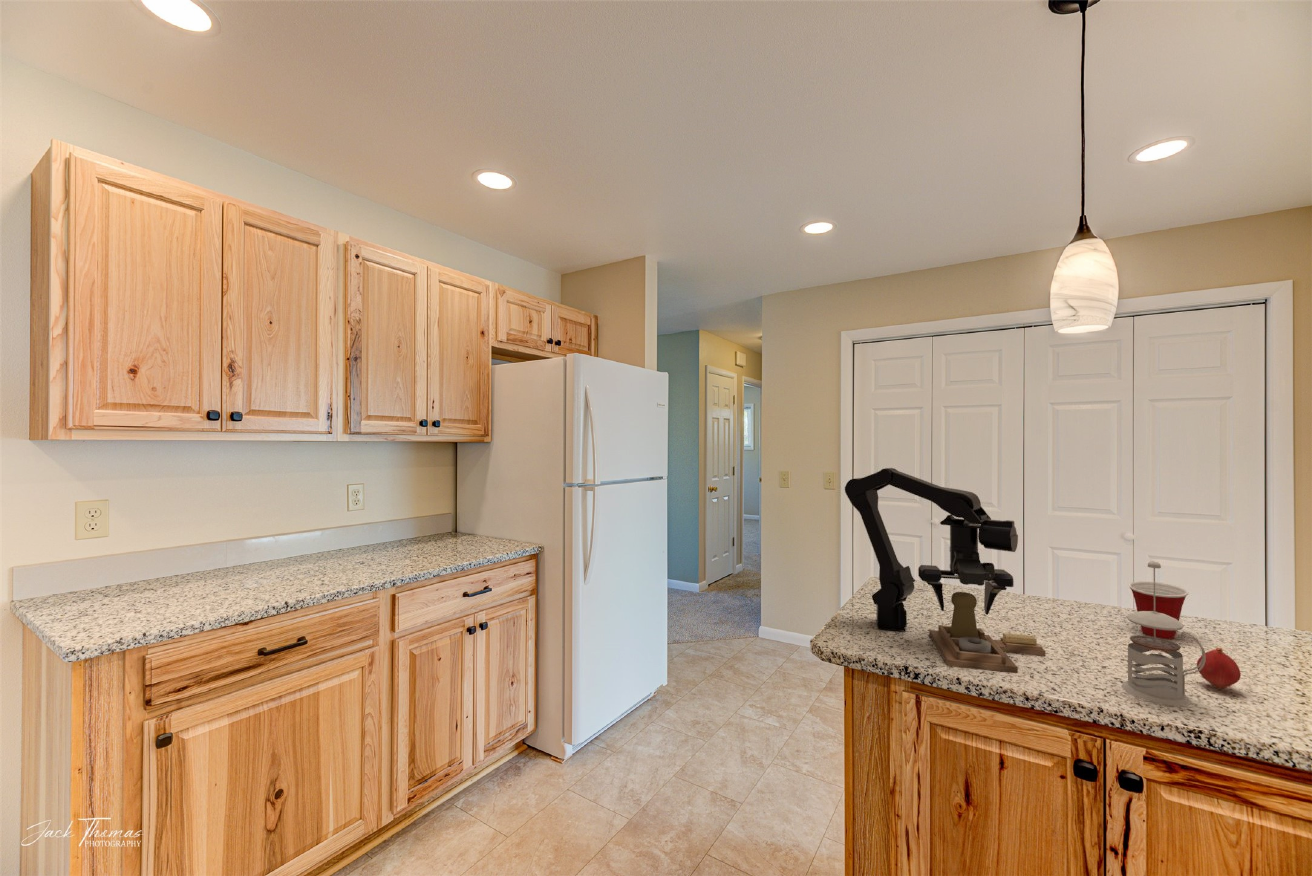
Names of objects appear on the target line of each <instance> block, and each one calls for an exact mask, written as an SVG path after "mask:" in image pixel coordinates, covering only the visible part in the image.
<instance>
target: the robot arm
mask: <svg viewBox="0 0 1312 876" xmlns="http://www.w3.org/2000/svg"><path fill="white" fill-rule="evenodd" d="M889 486H891V487H893V488H897V489H899V490H901V491H905V492H907V493H909V494H911V495H913V496H918V497H920V498H921V499H923V500H927V501H930V502H931V503H933V504H935V505H936V506H938V507H939V508H940V509H941V510H942V511H945V512H946V513H948V515H946V517H945V518H944V519H943V520H942V521H939V524H940V525H942V526H949V569H940V568H939V567H938V566H937V565H929V564H921V565H920V566H919V567H918V570H917V571H918V572H917V573H918V574H917V576H918V577H919V578H920V580H921V581H922V582H925V583H926V584H927V585H929V586H931V588H932V589H933V592H934V594H935V598H936V600H937V602H938V606H939V608H940V610H941V611H942V612H944V611H945V602H944V601H945V600H944V593H943V583H942V582H941V581H942V579H952V580H959V582H960V584H961V585H962V584H963V585H964V586H967V585H976V586H984V599H983V602H984V605H983V607H984V614H985V615H989V614H990V611H991V609H992V606H993V604H994V601H995V599H996V598H997V596H998V595H999V594H1000V592H1002V591H1007V588H1014V583H1015V582H1014V581H1015V580H1014V576H1013V575H1012V574H1011V573H1009V572H1008V571H1007V570H1005V569H1002V568H1000V569H999V568H995V565H994V563H992V562H981V559H980V553H979V544H980V545H981V546H983V547H984V549H986V550H996V551H1004V552H1010V553H1016V551H1017V549H1018V545H1019V544H1018V543H1019V534H1017V528H1016V526H1015V521H1014V520H1011V519H1010V520H1000V519H999V520H998V519H992V518H991V517H990V515H989V514H988V513H987V512H986V510H985V509H984V508H983V506H982V505H981V500H980V498H979V496H978V495H977V494H976V493H974V492H972V491H968V490H962V489H957V488H952V487H951V488H950V487H944V486H940V485H937V484H934V483H932V482H929V481H927V480H924V479H921V478H918V477H915V476H912V475H911V474H908V473H905V472H902V471H900V470H897V469H896V468H893V467H885V468H882V469H881V470H879V471H877V472H874V473H872V474H869V475H866V476H864V477H858V478H857V477H856V478H851V479H850V480H849V479H848V481H847V482H846V485H845V486H844V492H845V494H846V495H845V496H846V497H847V499H848V500H849V502H850V504H851V505H852V506H853V508H854V509H856V511H857V512H858V513H859V514H860V517H861V520H862V522H863V525H864V528H865V531H866V534H867V536H868V538H869V541H870V544H871V547H872V549H873V552H874V555H875V557H876V560H877V562H878V563H877V564H878V565H879V571H878V572H879V573H878V575H879V576H878V580H879V586H880V589H879V590H877V591H876V592H875V593H873V594H872V595H871V599H872V602H873V604H874V605H876V606H875V607H876V611H875V612H876V619H874V620H875V623H876V627H877V629H878V630H886V631H898V632H906V628H907V625H908V623H907V621H908V619H907V617H908V616H907V615H908V614H907V610H906V608H905V604H904V602H906V601H907V599H908V597H909V596H911V594H913V592H914V590H915V582H916V579H915V578H914V576H913V575H912V570H911V568H910V566H909V565H906V566H903V564H901V563H900V561H899V559H898V557H897V554H896V552H895V550H894V546H893V544H892V542H891V539H890V537H889V534H888V531H887V529H886V526H885V524H884V520H883V519H882V516H881V513H880V511H879V495H878V494H879V493H878V491H880V490H882V489H884V488H886V487H889Z"/></svg>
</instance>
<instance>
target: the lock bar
mask: <svg viewBox="0 0 1312 876" xmlns="http://www.w3.org/2000/svg"><path fill="white" fill-rule="evenodd" d="M1002 638H1003V642H1004V644H1005V645H1006V643H1011V644H1022V645H1033V646H1037V644H1038V643H1037V638H1036V637H1035V636H1034V635H1031V634H1030V635H1029V634H1017V633H1006V632H1005V633H1004V632H1003V633H1002Z"/></svg>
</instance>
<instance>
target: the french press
mask: <svg viewBox="0 0 1312 876" xmlns="http://www.w3.org/2000/svg"><path fill="white" fill-rule="evenodd" d="M1147 568H1151V569H1153V582H1154V611H1139V612H1137V611H1134V612H1132V613H1129V614H1127V615H1126V617H1125V618H1126V619H1127V621H1129V622H1131V623H1132V624H1134V625H1137V626H1140V627H1141V626H1144V627H1149V628H1154V637H1153V636H1152V637H1151V636H1147V635H1145V634H1143V635H1142V634H1141V635H1138V634H1137V635H1131V636H1130V637H1129V640H1130V641H1131V642H1130V643H1128V644H1127V680H1126V681H1124V682H1123V683H1122V684H1121V685H1120V687H1121V688H1122V689H1123V691H1125V692H1126V693H1129V694H1130V695H1132V696H1133V697H1136V698H1138V699H1141V700H1145V701H1148V702H1152V703H1155V704H1159V705H1160V704H1161V705H1165V706H1172V707H1173V706H1176V707H1184V706H1189V705H1191V703H1192V700H1191V699H1190V698H1189V697H1188V696H1187V694H1185V693H1186V691H1185V690H1186V687H1185V686H1186V684H1185V683H1186V676H1187V675H1188V676H1189V675H1193V674H1196V673H1199V671H1200V670H1201V669H1202V668H1203V667H1204V664H1205V661H1206V654H1205V653H1206V651H1205V649H1204V648H1203V645H1202V644H1201V642H1200V640H1199V639H1198V638H1196V637H1195V636H1193V635H1192V634H1191V633H1189V632H1188V631H1187V632H1186V631H1182V632H1180V636H1181V638H1180V639H1181V641H1183V642H1184V641H1185V637H1188V638H1190V639H1192V640H1193V641H1194V642H1196V643H1197V644H1198V646H1199V647H1200V650H1201V656H1202V660H1201V662H1200V663H1199V665H1198V666H1197V665H1196V666H1195V667H1193V668H1189V669H1185V670H1184V656H1183V654H1182V653H1181V651H1180V650H1181V648H1182V646H1181V645H1180V644H1179V643H1176V642H1174V641H1172V640H1171V639H1169V640H1168V639H1162V638H1161V639H1160V638H1157V637H1156V635H1155V629H1161V630H1176V631H1181V630H1183V628H1184V627H1185V624H1184V623H1182V622H1181V621H1180V620H1179V621H1178V620H1177V619H1175V618H1172V617H1170V616H1168V615H1165V614H1163V613H1158V612H1156V611H1155V582H1156V569H1162V566H1161V563H1159V562H1158V561H1155V560H1152V561H1151V560H1150V561H1148V563H1147ZM1151 651H1153V652H1154V651H1157V652H1158V651H1159V652H1162V653H1165V654H1167V655H1169V656H1170V657H1168V656H1166V655H1163V654H1161V653H1150V654H1147V653H1146V652H1151ZM1133 662H1134V663H1133ZM1202 662H1203V664H1202ZM1201 664H1202V665H1201ZM1148 665H1161V666H1149V667H1145V666H1148ZM1143 666H1144V667H1143ZM1200 666H1201V667H1200ZM1199 667H1200V668H1199ZM1197 668H1199V669H1197ZM1153 671H1158V672H1162V673H1155V672H1153ZM1191 671H1192V672H1191ZM1147 672H1153V673H1147ZM1143 673H1147V674H1143Z"/></svg>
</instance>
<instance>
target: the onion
mask: <svg viewBox="0 0 1312 876" xmlns="http://www.w3.org/2000/svg"><path fill="white" fill-rule="evenodd" d="M1205 654H1206V661H1205V664H1204V667H1203V668H1202V669H1201V670H1200V671H1198V673H1199V674H1200V675H1201V677H1202V678H1203V679H1204V680H1206V681H1207V682H1208V683H1209V684H1210V685H1212V686H1213V687H1214V688H1215V689H1218V690H1224V689H1227V688H1228V687H1231V686H1232V685H1234V684H1235V685H1236V684H1237V683H1238V682H1239V681H1240V680H1241V675H1242V674H1241V670H1240V667H1239V665H1238V664H1237V663H1236V662H1235V660H1234V659H1233V658H1232V657H1231V656H1229V655H1227V654H1226V653H1225V652H1224V651H1223V648H1222V647H1216V648H1215V649H1211V650H1209V651H1205ZM1201 660H1202V655H1201V656H1200V657H1199V658H1198V659H1197V661H1196V667H1197V666H1198V665H1199V663H1200V662H1201ZM1202 664H1203V662H1202ZM1202 664H1201V665H1202ZM1200 667H1201V666H1200ZM1200 667H1199V668H1200ZM1199 668H1197V669H1196V670H1198V669H1199Z"/></svg>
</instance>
